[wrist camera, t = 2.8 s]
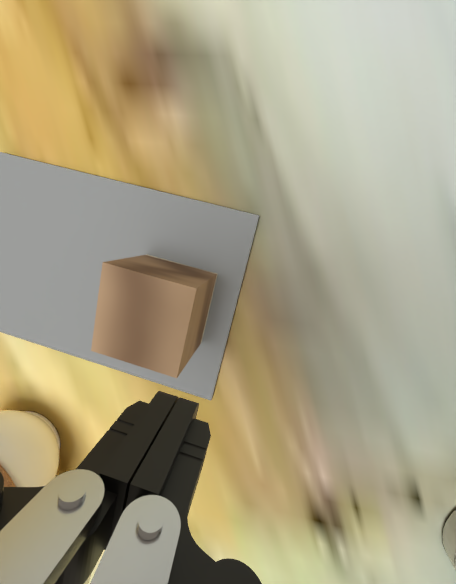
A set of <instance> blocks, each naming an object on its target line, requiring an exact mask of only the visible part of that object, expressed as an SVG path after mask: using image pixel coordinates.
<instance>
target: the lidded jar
mask: <svg viewBox="0 0 456 584" xmlns="http://www.w3.org/2000/svg"><path fill="white" fill-rule="evenodd" d="M59 450H60V437H59V434H58V432H57V430H56V428H55V427H54V425H53V424H52V423H51V422H50V421H49V420H48V419H47V418H45V417H44V416H42V415H41V414H39V413H36V412H32V411H17V410H2V411H0V472H1V473H2V475H3V478H4V487H41V486H46V485H47V484H48V483H49V482H50V481H51V480H52V479H54V478H55V477H56V474H57V470H58V466H59Z"/></svg>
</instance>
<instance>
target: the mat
mask: <svg viewBox="0 0 456 584" xmlns="http://www.w3.org/2000/svg"><path fill="white" fill-rule="evenodd" d="M258 220H259V215H255V214H251V213H247V212H242V211H238V210H234V209H230V208H226V207H222V206H218V205H214V204H210V203H206V202H202V201H198V200H193V199H189V198H185V197H181V196H177V195H173V194H169V193H165V192H161V191H157V190H153V189H149V188H144V187H140V186H136V185H132V184H128V183H124V182H120V181H116V180H112V179H108V178H104V177H100V176H95V175H91V174H87V173H83V172H79V171H75V170H71V169H67V168H63V167H59V166H55V165H51V164H46V163H42V162H38V161H34V160H30V159H26V158H22V157H18V156H14V155H10V154H6V153H2V152H0V332H2V333H5V334H9V335H12V336H15V337H18V338H21V339H24V340H27V341H30V342H33V343H36V344H39V345H42V346H45V347H48V348H51V349H54V350H58V351H61V352H64V353H67V354H70V355H73V356H76V357H79V358H82V359H85V360H88V361H91V362H94V363H97V364H100V365H104V366H107V367H110V368H113V369H116V370H119V371H122V372H125V373H128V374H131V375H134V376H137V377H140V378H143V379H146V380H150V381H153V382H156V383H159V384H162V385H165V386H168V387H171V388H174V389H177V390H180V391H183V392H186V393H189V394H192V395H195V396H199V397H202V398H205V399H208V400H212V397H213V393H214V389H215V385H216V381H217V377H218V373H219V370H220V366H221V362H222V358H223V354H224V350H225V347H226V343H227V339H228V335H229V331H230V327H231V324H232V320H233V316H234V312H235V308H236V304H237V300H238V297H239V293H240V289H241V285H242V281H243V277H244V274H245V270H246V266H247V262H248V258H249V254H250V250H251V247H252V243H253V239H254V235H255V231H256V227H257V224H258ZM146 254H147V255H151V256H155V257H158V258H162V259H166V260H169V261H173V262H177V263H180V264H184V265H188V266H191V267H195V268H199V269H202V270H206V271H210V272H213V273H217V274H218V275H217V279H216V283H215V288H214V292H213V296H212V300H211V304H210V309H209V313H208V317H207V321H206V326H205V330H204V334H203V338H202V342H201V344H200V345H199V347H198V348H197V350H196V351H195V353H194V354H193V356H192V357H191V359H190V360H189V361H188V363H187V364H186V366H185V367H184V369H183V370H182V372H181V373H180V375H179V376H178V377H177V378H174V377H171V376H168V375H165V374H162V373H158V372H155V371H152V370H149V369H146V368H143V367H140V366H137V365H134V364H131V363H127V362H124V361H121V360H118V359H115V358H112V357H109V356H106V355H103V354H99V353H96V352H93V351H91V347H92V339H93V332H94V324H95V316H96V309H97V301H98V293H99V286H100V278H101V271H102V263H103V262H107V261H112V260H118V259H124V258H129V257H135V256H141V255H146Z"/></svg>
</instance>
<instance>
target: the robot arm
mask: <svg viewBox="0 0 456 584" xmlns="http://www.w3.org/2000/svg"><path fill="white" fill-rule="evenodd" d="M198 407H199V403H196V402H192V401H189V400H186V399H183V398H178V397H177V396H173V395H170V394H167V393H164V392H161V391H158V392H157V394H156V395H155V396H154V398H153V399H152V401H151V402H150V403H149V404H148V403H145V402H142V401H138V402H136V403H135V404H133V405H131V406H129V407H127V408H126V409H125V410H124V412H123V413H122V414H121V415H120V417H119V418H118V419H117V421H115V423H114V424H113V425H112V426H111V427H110V429H109V431H107V432H106V433H105V435H104V436H103V437H102V438H101V440H100V441H99V442H98V443H97V444H96V446H95V447H94V448H93V449H92V450H91V452H90V453H89V454H88V455H87V456H86V458H85V459H84V460H83V461H82V463H81V464H80V465H79V466H78V467H77V468H76V469H75V470H71V471H67V472H65V473H62V474H60V475H58V476H57V477H55V478H54V479H52V480H51V481H50V482H49V483H48V484H47V485H46V486H41V487H4V478H3V475H2V473H1V472H0V584H88V583H89V580H90V576H91V573H92V571H93V569H94V567H95V565H96V563H97V561H98V559H99V558H100V556H101V554H102V552H103V550H105V552H104V554H103V557H102V559H101V561H100V563H99V565H98V568H97V570H96V572H95V574H94V577H93V579H92V581H91V583H90V584H261V582H260V580H259V578H258V577H257V575H256V574H255V573H254V572H253V570H252V569H251V568H250V567H248V566H247V565H246V564H244V563H242V562H241V561H238V560H235V559H222V560H219V561H217V562H215V561H214V560H213V559H212V558H211V557H209V556H208V555H207V554H206V553H205V552H204V551H203V550H202V549H201V548H200V547H199V546H198V545H197V544H196V543H195V541H194V539H193V538H192V536H191V533H190V531H189V527H188V521H187V516H188V513H189V510H190V506H191V503H192V500H193V496H194V493H195V490H196V486H197V483H198V480H199V477H200V473H201V470H202V466H203V462H204V459H205V455H206V451H207V447H208V444H209V440H210V436H211V435H210V430H209V425H208V423H206V422H203V421H200V420H197V419H196V415H197V411H198ZM442 540H443V545H444V549H445V551H446V553H447V555H448V557H449V559H450V561H451V563H452V564H453V566H454V568H455V570H456V510H455V511H454V512H453V513H452V514H451V515H450V517H449V518H448V519H447V521H446V523H445V526H444V528H443V536H442Z"/></svg>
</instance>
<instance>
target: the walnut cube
mask: <svg viewBox="0 0 456 584" xmlns="http://www.w3.org/2000/svg"><path fill="white" fill-rule="evenodd" d="M217 275H218V274H217V273H213V272H210V271H206V270H202V269H199V268H195V267H191V266H188V265H184V264H180V263H177V262H173V261H169V260H166V259H162V258H158V257H155V256H151V255H147V254H146V255H141V256H135V257H129V258H124V259H118V260H112V261H107V262H103V263H102V271H101V278H100V286H99V293H98V301H97V309H96V316H95V324H94V332H93V339H92V347H91V351H93V352H96V353H99V354H103V355H106V356H109V357H112V358H115V359H118V360H121V361H124V362H127V363H131V364H134V365H137V366H140V367H143V368H146V369H149V370H152V371H155V372H158V373H162V374H165V375H168V376H171V377H174V378H177V377H178V376H179V375H180V373H181V372H182V370H183V369H184V367H185V366H186V364H187V363H188V361H189V360H190V359H191V357H192V356H193V354H194V353H195V351H196V350H197V348H198V347H199V345H200V344H201V342H202V338H203V334H204V330H205V326H206V321H207V317H208V313H209V309H210V304H211V300H212V296H213V292H214V288H215V283H216V279H217Z"/></svg>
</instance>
